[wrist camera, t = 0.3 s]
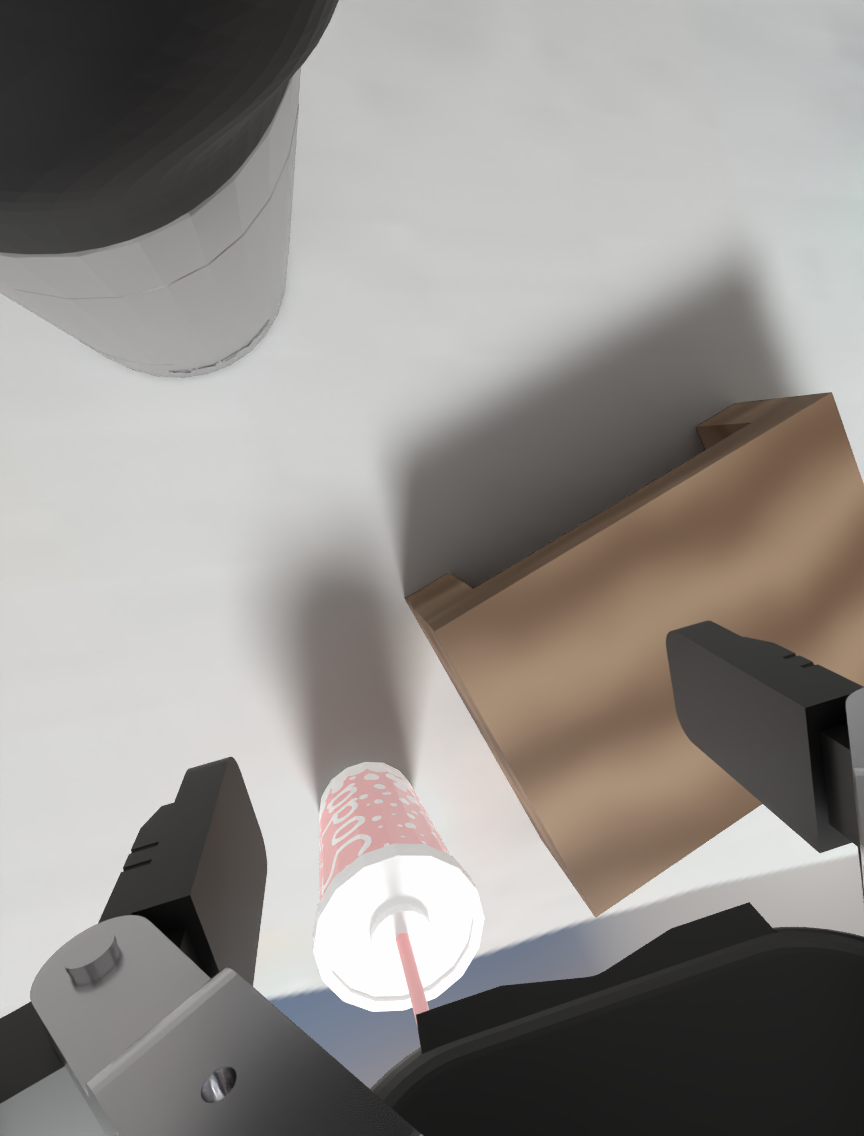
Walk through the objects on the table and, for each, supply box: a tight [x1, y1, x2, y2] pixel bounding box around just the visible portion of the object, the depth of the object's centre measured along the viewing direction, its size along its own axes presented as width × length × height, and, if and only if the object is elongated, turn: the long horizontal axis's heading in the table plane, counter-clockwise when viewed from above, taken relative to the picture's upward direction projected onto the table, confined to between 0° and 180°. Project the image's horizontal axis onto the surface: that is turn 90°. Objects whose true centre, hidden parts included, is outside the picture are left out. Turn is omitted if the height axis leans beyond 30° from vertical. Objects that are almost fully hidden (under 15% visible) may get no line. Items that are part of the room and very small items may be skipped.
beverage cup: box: [313, 762, 484, 1027], centre depth 25 cm, size 6×6×14 cm
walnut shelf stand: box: [405, 392, 864, 917], centre depth 31 cm, size 15×19×6 cm
